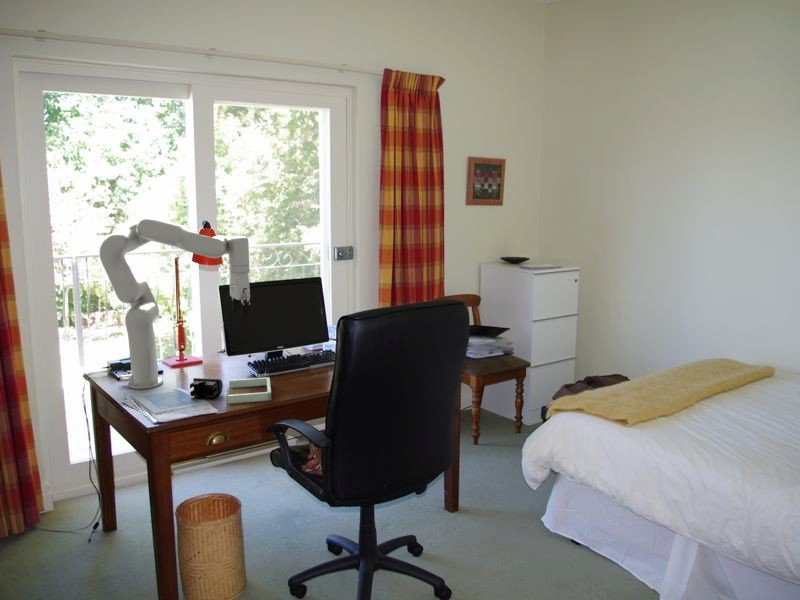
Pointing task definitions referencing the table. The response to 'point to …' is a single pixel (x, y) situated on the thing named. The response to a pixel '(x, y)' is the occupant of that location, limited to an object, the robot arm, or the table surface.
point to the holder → (250, 396)
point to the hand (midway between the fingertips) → (241, 312)
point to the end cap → (206, 389)
